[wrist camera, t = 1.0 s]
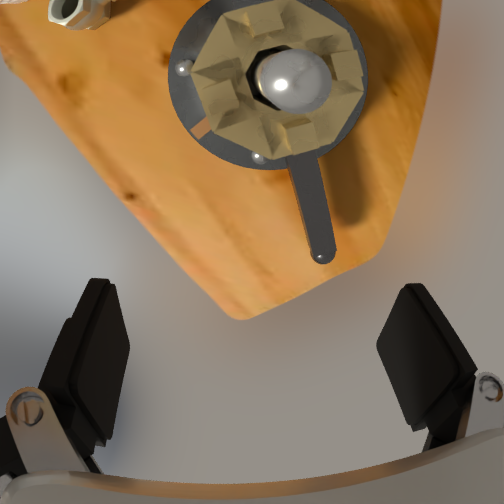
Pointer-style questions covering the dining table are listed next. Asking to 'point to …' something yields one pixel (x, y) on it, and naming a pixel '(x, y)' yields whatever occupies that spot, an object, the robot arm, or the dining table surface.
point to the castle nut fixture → (270, 116)
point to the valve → (79, 13)
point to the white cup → (12, 1)
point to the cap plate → (191, 95)
